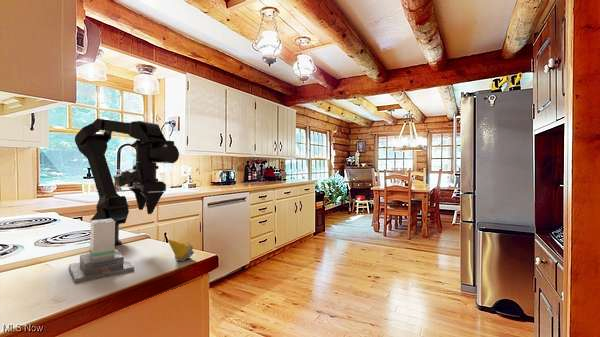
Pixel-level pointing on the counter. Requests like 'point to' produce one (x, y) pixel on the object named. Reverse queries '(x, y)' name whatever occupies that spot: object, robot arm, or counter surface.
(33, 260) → the counter surface
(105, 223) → the column
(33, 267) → the counter surface
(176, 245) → the yellow-green tapered piece
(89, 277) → the stand
